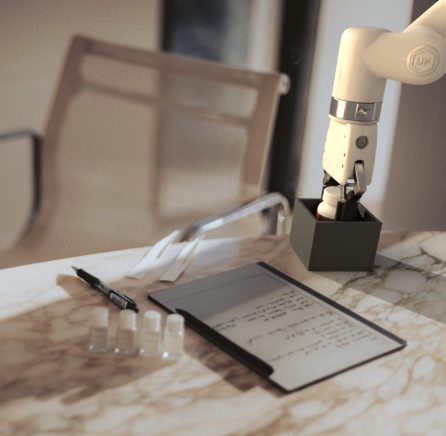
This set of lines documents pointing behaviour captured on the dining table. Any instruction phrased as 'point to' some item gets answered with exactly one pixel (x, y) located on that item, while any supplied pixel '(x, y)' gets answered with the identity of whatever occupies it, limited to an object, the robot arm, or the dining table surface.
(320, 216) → the pill bottle
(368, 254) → the waste bin
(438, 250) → the dining table surface
